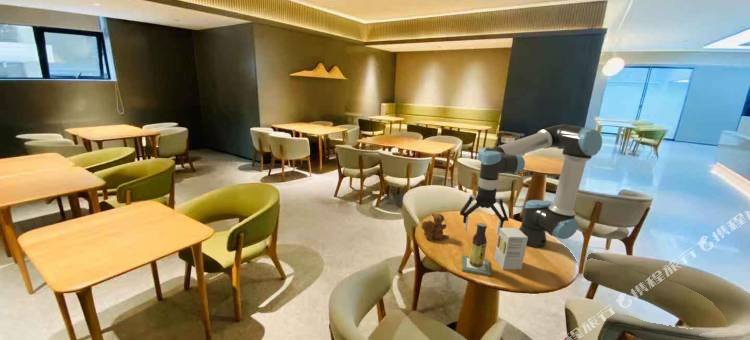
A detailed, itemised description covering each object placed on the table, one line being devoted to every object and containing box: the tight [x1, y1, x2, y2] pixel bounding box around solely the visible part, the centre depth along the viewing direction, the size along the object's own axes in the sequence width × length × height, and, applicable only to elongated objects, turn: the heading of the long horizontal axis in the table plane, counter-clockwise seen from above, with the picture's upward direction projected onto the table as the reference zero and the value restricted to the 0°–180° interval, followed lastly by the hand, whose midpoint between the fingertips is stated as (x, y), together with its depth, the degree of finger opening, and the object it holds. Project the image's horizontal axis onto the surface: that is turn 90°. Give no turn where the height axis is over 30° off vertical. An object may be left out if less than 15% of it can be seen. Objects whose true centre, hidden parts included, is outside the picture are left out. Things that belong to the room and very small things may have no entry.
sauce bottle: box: [469, 222, 488, 267], centre depth 140 cm, size 6×6×20 cm
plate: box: [461, 254, 491, 277], centre depth 143 cm, size 12×12×1 cm
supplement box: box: [494, 227, 528, 270], centre depth 144 cm, size 10×9×17 cm
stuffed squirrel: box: [420, 212, 449, 241], centre depth 167 cm, size 10×14×13 cm
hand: (481, 231), depth 138 cm, fingers open, 13 cm apart
